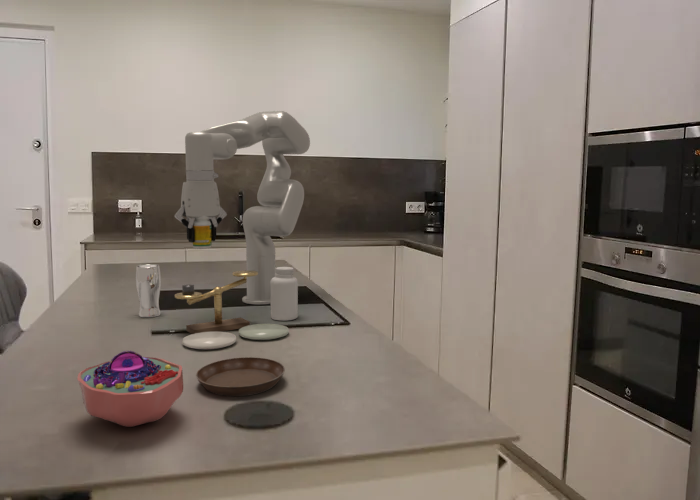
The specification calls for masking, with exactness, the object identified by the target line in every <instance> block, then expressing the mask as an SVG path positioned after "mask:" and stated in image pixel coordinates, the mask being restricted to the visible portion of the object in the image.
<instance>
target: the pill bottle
mask: <svg viewBox="0 0 700 500" xmlns="http://www.w3.org/2000/svg"><path fill="white" fill-rule="evenodd" d="M275 273H276V274H275V275H276V277H273V278H272V279H271V304H270V318H271V319H272V320H274V321H284V322H285V321H293V320H295V319H298V314H299V312H298V311H299V310H298V309H299V307H298V305H299V303H298V301H299V299H298V298H299V297H298V295H299V293H298V291H299V286H298V279H297V277H295V276H293V275H294V267H292V266H291V267H290V266H277V267H275Z"/></svg>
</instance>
